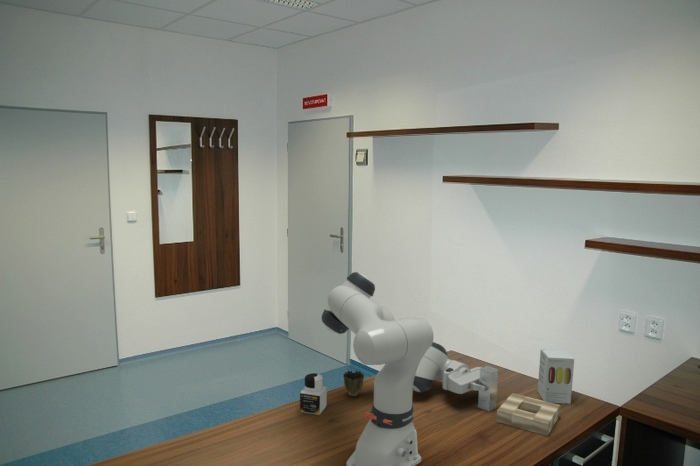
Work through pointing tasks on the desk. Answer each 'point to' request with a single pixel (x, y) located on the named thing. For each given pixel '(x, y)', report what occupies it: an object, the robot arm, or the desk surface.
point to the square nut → (528, 414)
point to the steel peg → (488, 388)
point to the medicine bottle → (313, 395)
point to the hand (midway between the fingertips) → (490, 387)
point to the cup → (353, 382)
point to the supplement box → (555, 376)
